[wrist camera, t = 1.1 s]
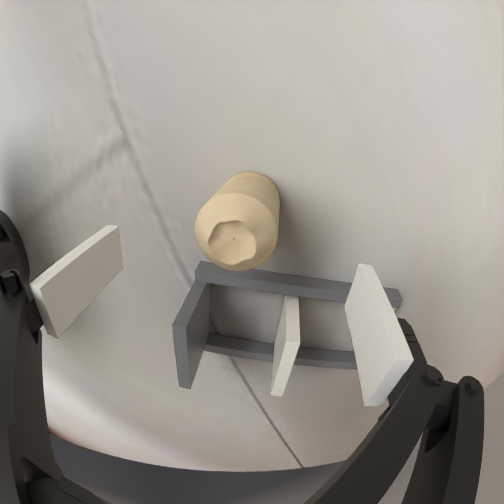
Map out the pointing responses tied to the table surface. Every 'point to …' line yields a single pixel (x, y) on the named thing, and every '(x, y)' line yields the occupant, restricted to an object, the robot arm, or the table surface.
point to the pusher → (285, 344)
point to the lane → (198, 339)
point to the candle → (240, 222)
